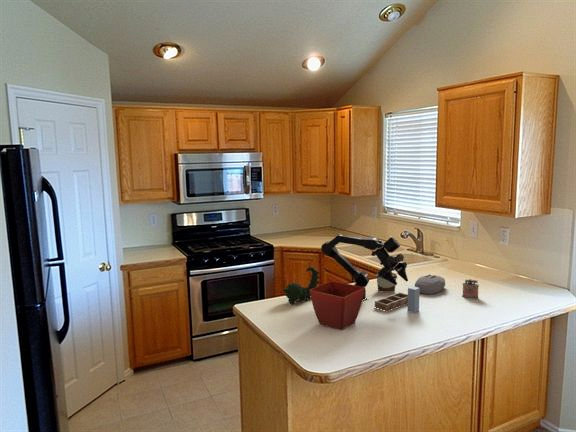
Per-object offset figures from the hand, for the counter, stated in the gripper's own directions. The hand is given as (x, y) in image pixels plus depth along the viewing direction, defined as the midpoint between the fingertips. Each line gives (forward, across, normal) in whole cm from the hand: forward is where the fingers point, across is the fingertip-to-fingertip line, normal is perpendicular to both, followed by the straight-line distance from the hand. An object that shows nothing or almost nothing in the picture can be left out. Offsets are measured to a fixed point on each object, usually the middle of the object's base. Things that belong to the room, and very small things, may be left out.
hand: (402, 282), depth 214 cm
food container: (-7, +17, +26) cm, 32 cm away
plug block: (+14, 0, +4) cm, 15 cm away
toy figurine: (-21, -31, +40) cm, 55 cm away
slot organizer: (+6, 0, +13) cm, 14 cm away
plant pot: (+4, -39, +15) cm, 42 cm away
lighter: (+21, +40, -2) cm, 45 cm away
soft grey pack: (+5, +36, +14) cm, 38 cm away
